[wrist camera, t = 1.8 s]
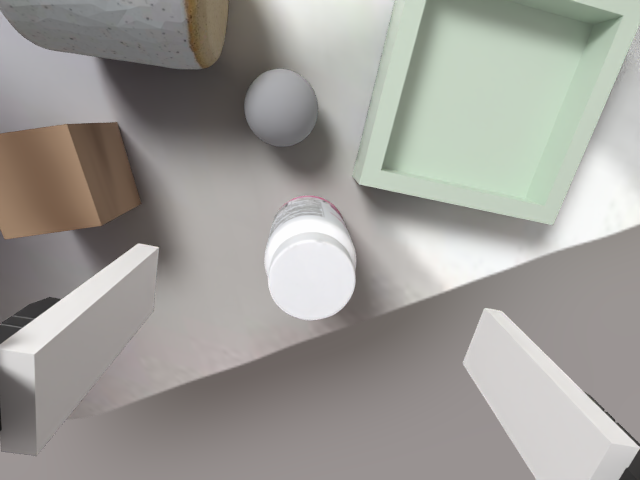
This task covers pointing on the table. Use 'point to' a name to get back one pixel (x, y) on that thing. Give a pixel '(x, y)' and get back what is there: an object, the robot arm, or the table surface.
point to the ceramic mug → (126, 29)
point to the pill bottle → (310, 259)
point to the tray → (492, 99)
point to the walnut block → (63, 179)
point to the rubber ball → (281, 107)
